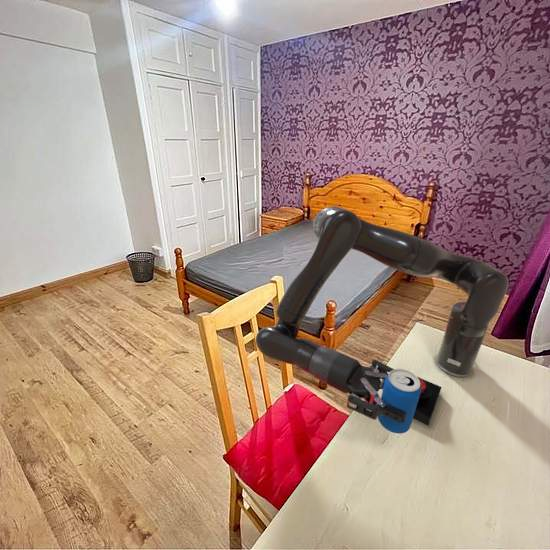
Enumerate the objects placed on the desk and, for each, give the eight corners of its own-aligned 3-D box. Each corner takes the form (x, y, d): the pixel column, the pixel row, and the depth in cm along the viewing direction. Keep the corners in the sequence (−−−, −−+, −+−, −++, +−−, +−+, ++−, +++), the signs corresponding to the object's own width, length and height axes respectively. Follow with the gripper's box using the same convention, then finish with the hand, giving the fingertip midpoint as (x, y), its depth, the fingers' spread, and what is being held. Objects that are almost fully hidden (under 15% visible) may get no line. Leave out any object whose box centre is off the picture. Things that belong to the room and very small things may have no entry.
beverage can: (412, 438, 60) (426, 395, 55) (378, 432, 61) (388, 390, 56) (406, 411, 66) (418, 369, 60) (375, 406, 67) (384, 365, 61)
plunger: (407, 389, 79) (408, 384, 78) (411, 381, 81) (412, 376, 80) (422, 396, 77) (423, 391, 76) (425, 387, 79) (427, 382, 78)
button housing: (387, 405, 79) (389, 393, 77) (401, 377, 88) (404, 365, 86) (428, 426, 74) (432, 413, 72) (439, 394, 82) (443, 381, 80)
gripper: (318, 375, 61) (403, 418, 52) (349, 338, 72) (424, 369, 63) (316, 401, 65) (395, 446, 56) (346, 362, 75) (417, 395, 66)
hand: (410, 405), depth 59 cm, fingers closed on beverage can, 6 cm apart
